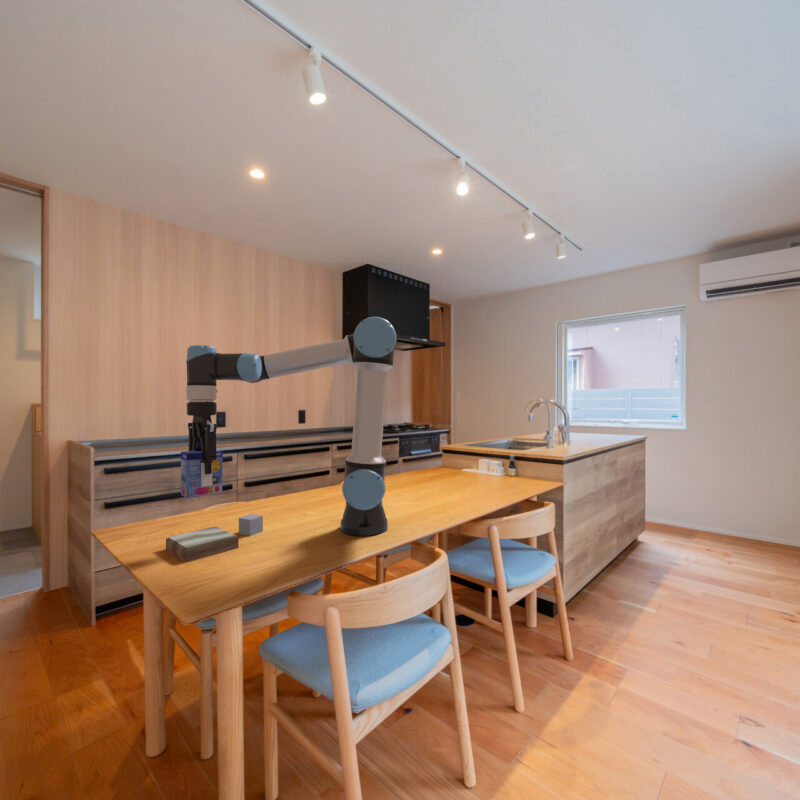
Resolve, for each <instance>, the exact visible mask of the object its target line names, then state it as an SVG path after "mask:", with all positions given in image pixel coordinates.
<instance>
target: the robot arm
mask: <svg viewBox="0 0 800 800" xmlns="http://www.w3.org/2000/svg"><path fill="white" fill-rule="evenodd" d="M396 343H397V333H396V330H395V327H394V325H392V324H391V322H389V321H388V320H387V319H385V318H383V317H379V316H371V317H370V316H369V317H366V318H365V319H363V320H361V321H360V322H359V323H358V324H357V326H356V327H355V330H354V332H353V333H352V334H351V333H350V334H347V335H345V337H344V338H343V339H338V340H333V341H329V342H324V343H319V344H313V345H309V346H303V347H299V348H294V349H289V350H284V351H278V352H274V353H269V354H265V355H259V354H258V353H248V352H244V353H243V352H242V353H241V352H240V353H239V352H238V353H219V352H217V351H218V350H217V348H216V347H215V346H211V345H204V344H203V345H202V344H197V345H196V344H194V345H190V346H189V347H187V350H186V360H185V364H186V400H187V401H188V402H187V403H186V416H189V417H190V416H192V422H188V423H187V429H188V430H187V431H188V450H187V451H193V450H195V449H196V446H197V443H201V446H199V448H200V447H201V450H202V459H203V460H201V461H200V463H201V487H204V486H211V485H212V462H213V460H216V449H217V429H218V425H217V423H213V422H212V416H216V415H217V414H218V413H217V412H218V411H217V410H218V409H217V407H218V406H217V404H218V403H217V402H216V400H217V393H218V391H219V390H218V389H217V385H218V384H217V381H240V382H247V383H249V384H256V383H260V382H262V381H265V380H270V379H274V378H280V377H283V376H289V375H294V374H295V375H296V374H299V373H304V372H309V371H314V370H317V369H318V370H319V369H323V368H328V367H334V366H339V365H344V364H350V365H352V366H354V367H355V368H356V370H357V373H356V386H355V400H354V402H355V403H354V412H353V414H354V415H353V428H352V441H351V452H350V454H349V455H347V457H346V458H345V462H344V463H345V465H344V475H343V476H344V477H343V483H342V485H341V486H342V488H341V489H342V490H341V491H342V496H343V497H344V499H345V507H344V511H343V514H342V518H341V520H340V531H341V532H342V533H343V534H346V535H350V536H361V537H362V536H363V537H364V536H374V535H378V534H382V533H383V532H386V531H387V530H388V527H389V522H388V518H387V517H386V512H385V508H384V505H383V499H384V496H385V495H386V483H385V480H386V479H385V478H386V467H387V461H386V459H385V458H384V457H383V454H382V448H383V446H382V445H383V436H384V435H383V434H384V422H385V421H384V419H385V407H386V406H385V405H386V397H387V396H386V394H387V393H386V392H387V381H388V373H389V371H390V370H391V369H393V368H394V358H395V346H396Z"/></svg>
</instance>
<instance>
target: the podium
mask: <svg viewBox="0 0 800 800" xmlns="http://www.w3.org/2000/svg"><path fill="white" fill-rule="evenodd" d="M239 545H240V544H239V536H238V535H235V534H233V533H231V532H229V531H227V530H225V529H222V528H221V527H219V526H216V525H215V526H210V527H207V528H206V527H205V528H203V529H202V528H201V529H198V530H197V529H196V530H194V531H189V532H184V533H180V534H175V535H171V536H168V537H167V538H165V550H166V551H167V552H169V553H171V554H172V555H174V556H175V557H177V558H178V559H179V560H182V561H183V562H184V563H188V562H192V561H195V560H199V559H200V560H201V559H203V558H206V557H210V556H213V555H216V554H221V553H224V552H225V553H226V552H227V551H228V552H229V551H232V550H235V549H238V548H239Z"/></svg>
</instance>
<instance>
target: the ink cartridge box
mask: <svg viewBox="0 0 800 800" xmlns="http://www.w3.org/2000/svg"><path fill="white" fill-rule="evenodd" d="M199 446H201V443H197V446H196V449H195V450H193V451H188V450H187V451H180V496H182V497H184V498H186V499H190V498H197V497H202V496H203V497H204V496H208V495H216V494H222V493H223V460H224V459H223V457H224V456H223V453H224V452H223V450H222V449H217V448H216V460H213V462H212V485H211V486H204V487H201V463H200V461H201V460H203V459H202V450H201V447H200V448H199Z"/></svg>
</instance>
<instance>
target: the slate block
mask: <svg viewBox="0 0 800 800" xmlns="http://www.w3.org/2000/svg"><path fill="white" fill-rule="evenodd" d="M263 521H264V516H263V515H260V514H255V513H250V514H247V515H244V516H240V517H238V534H239V535H243V536H248V537H252V536H254V535H257V534H259V533H262V532H263V531H264V528H263V527H264V526H263V525H264V522H263Z"/></svg>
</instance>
